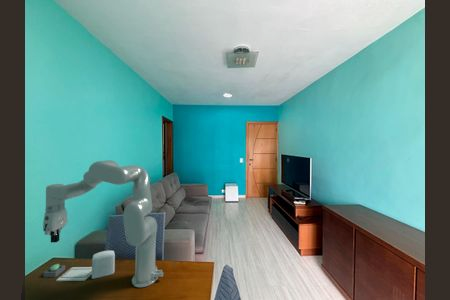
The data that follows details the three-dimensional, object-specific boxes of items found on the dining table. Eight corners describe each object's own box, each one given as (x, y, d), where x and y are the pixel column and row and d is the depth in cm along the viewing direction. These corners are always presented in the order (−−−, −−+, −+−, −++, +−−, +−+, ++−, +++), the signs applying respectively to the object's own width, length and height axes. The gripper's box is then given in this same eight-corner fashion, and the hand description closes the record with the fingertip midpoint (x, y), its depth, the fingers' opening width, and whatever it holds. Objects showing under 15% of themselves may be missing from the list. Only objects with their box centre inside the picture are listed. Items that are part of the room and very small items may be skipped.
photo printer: (115, 269, 101) (115, 247, 101) (114, 274, 97) (114, 251, 98) (92, 275, 97) (92, 251, 97) (90, 280, 93) (91, 256, 93)
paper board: (97, 267, 103) (97, 266, 103) (84, 280, 93) (84, 279, 93) (72, 268, 102) (72, 267, 102) (56, 281, 92) (56, 279, 92)
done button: (61, 268, 100) (61, 263, 100) (55, 272, 96) (55, 268, 96) (54, 268, 100) (54, 263, 100) (48, 272, 96) (48, 268, 96)
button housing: (65, 269, 101) (65, 265, 101) (55, 277, 95) (55, 272, 95) (54, 269, 101) (54, 265, 101) (43, 277, 95) (43, 272, 95)
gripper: (49, 212, 91) (49, 249, 91) (73, 203, 106) (73, 235, 106) (34, 212, 90) (33, 249, 90) (60, 203, 105) (59, 235, 105)
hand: (55, 241), depth 98 cm, fingers closed
